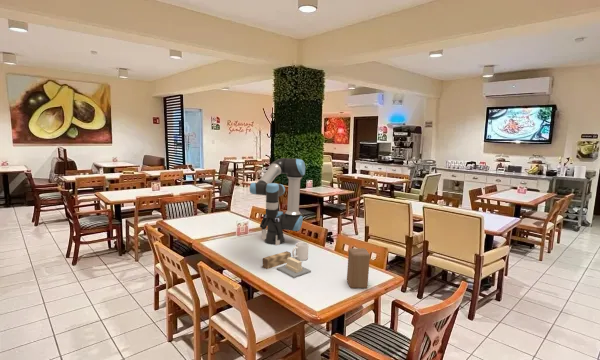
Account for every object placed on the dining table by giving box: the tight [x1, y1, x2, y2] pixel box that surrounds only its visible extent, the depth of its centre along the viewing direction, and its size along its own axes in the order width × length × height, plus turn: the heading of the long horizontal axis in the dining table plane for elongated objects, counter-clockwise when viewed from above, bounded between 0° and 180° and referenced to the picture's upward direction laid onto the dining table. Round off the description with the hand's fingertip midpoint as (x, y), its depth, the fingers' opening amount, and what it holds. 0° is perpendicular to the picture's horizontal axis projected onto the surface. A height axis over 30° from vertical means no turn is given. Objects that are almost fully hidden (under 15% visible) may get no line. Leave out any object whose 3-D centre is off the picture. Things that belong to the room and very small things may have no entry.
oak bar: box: [262, 250, 292, 270], centre depth 214 cm, size 20×4×6 cm, turn 133°
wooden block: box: [346, 247, 371, 289], centre depth 189 cm, size 10×10×20 cm
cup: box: [291, 241, 309, 262], centre depth 224 cm, size 8×12×10 cm
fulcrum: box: [276, 256, 312, 279], centre depth 205 cm, size 14×16×7 cm
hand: (270, 242), depth 208 cm, fingers open, 13 cm apart
